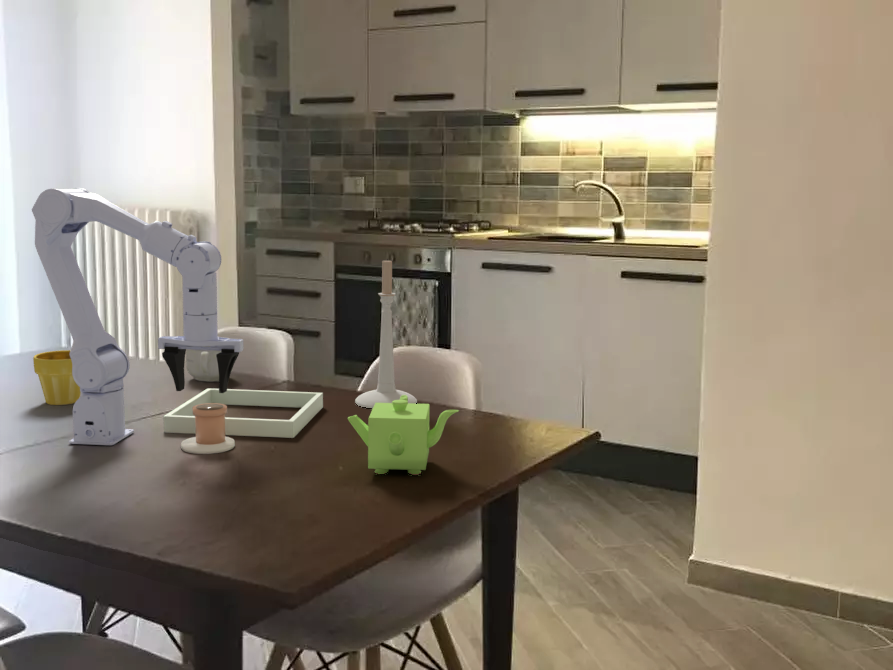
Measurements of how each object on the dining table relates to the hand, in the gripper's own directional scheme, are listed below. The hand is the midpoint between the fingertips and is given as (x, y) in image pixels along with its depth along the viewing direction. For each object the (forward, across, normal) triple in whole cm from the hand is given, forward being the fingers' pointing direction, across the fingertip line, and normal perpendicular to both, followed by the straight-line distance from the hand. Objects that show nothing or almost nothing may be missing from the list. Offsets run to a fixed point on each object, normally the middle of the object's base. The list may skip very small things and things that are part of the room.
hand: (201, 391), depth 174 cm
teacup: (+10, +17, -51) cm, 54 cm away
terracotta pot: (+8, -2, +1) cm, 9 cm away
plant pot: (+10, +39, -26) cm, 47 cm away
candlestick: (+10, -26, -36) cm, 46 cm away
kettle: (+9, -37, +9) cm, 39 cm away
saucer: (+9, -2, +2) cm, 10 cm away
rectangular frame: (+9, -2, -18) cm, 20 cm away
